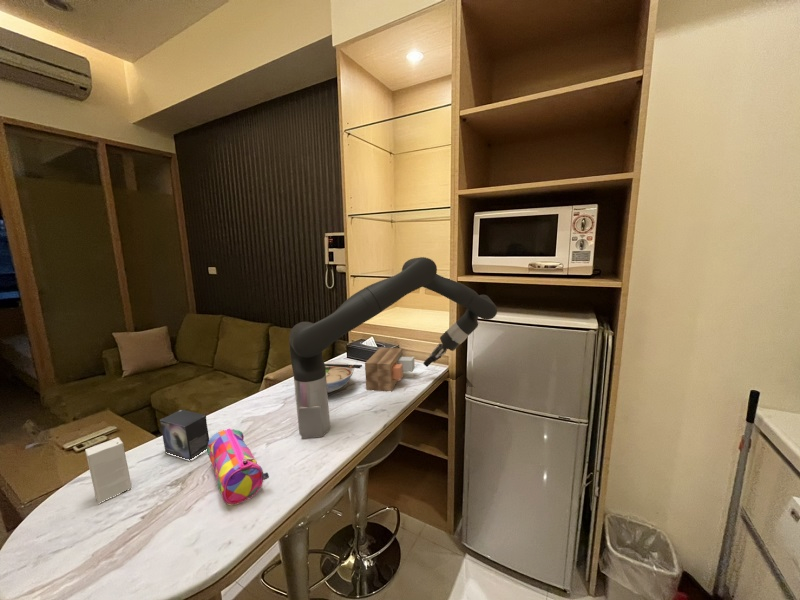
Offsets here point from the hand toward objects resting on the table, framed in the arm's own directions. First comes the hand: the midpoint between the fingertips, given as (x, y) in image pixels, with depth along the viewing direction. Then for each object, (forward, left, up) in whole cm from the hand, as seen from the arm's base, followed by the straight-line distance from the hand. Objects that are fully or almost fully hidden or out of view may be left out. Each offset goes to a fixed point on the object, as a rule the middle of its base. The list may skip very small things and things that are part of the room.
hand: (425, 364), depth 129 cm
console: (+3, +16, -7) cm, 18 cm away
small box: (-35, +74, -7) cm, 82 cm away
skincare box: (-49, +83, -7) cm, 97 cm away
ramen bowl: (-1, +40, -7) cm, 41 cm away
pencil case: (-48, +56, -7) cm, 74 cm away
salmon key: (-3, +13, -3) cm, 14 cm away
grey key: (+5, +8, -3) cm, 9 cm away
